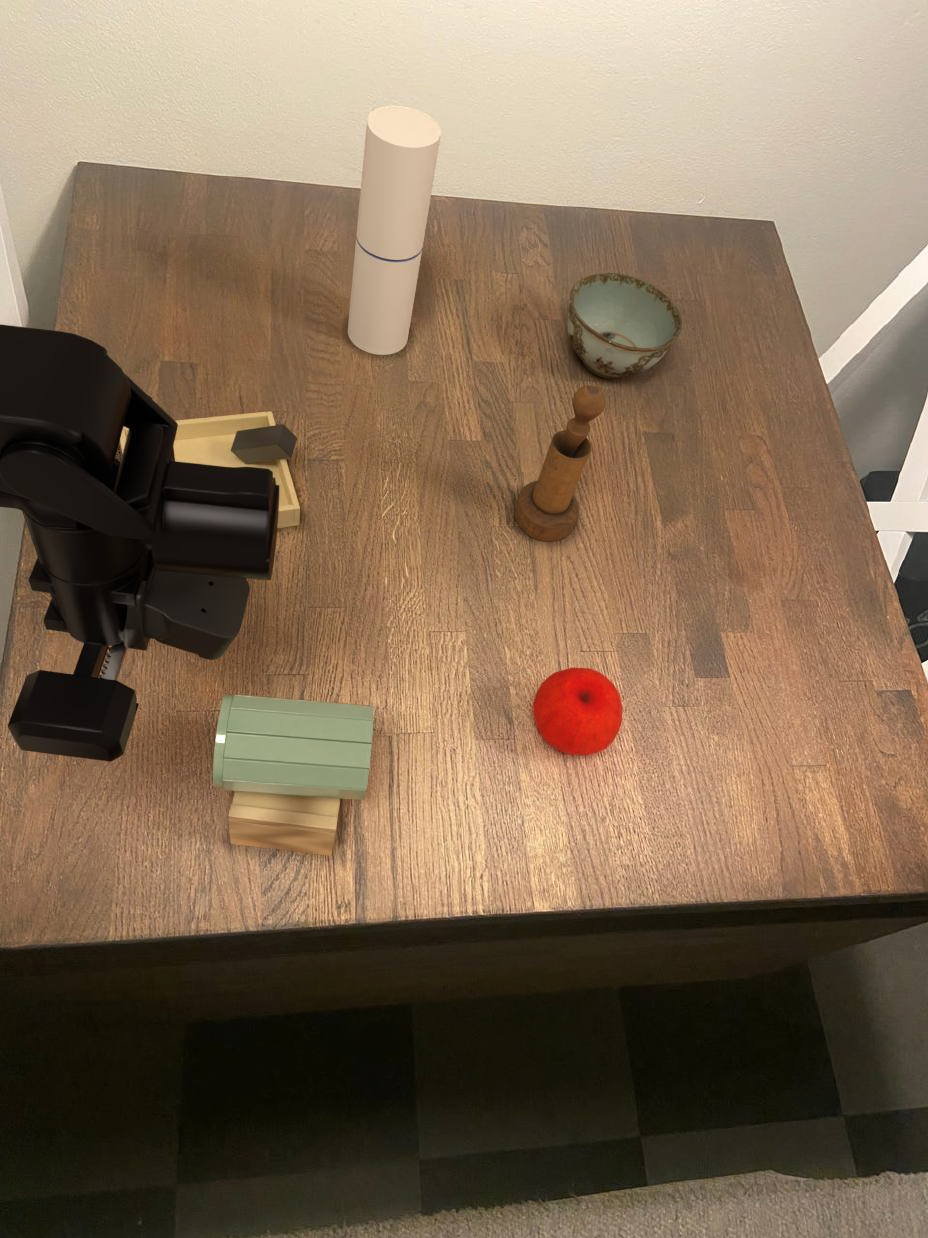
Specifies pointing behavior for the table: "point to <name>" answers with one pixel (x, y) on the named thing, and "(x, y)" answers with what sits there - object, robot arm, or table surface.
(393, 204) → the cylindrical container
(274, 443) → the black block
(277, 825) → the wooden block
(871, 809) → the table surface
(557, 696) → the apple
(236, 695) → the grooved sage-green cylinder
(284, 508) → the tray
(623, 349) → the bowl
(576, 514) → the mortar and pestle
